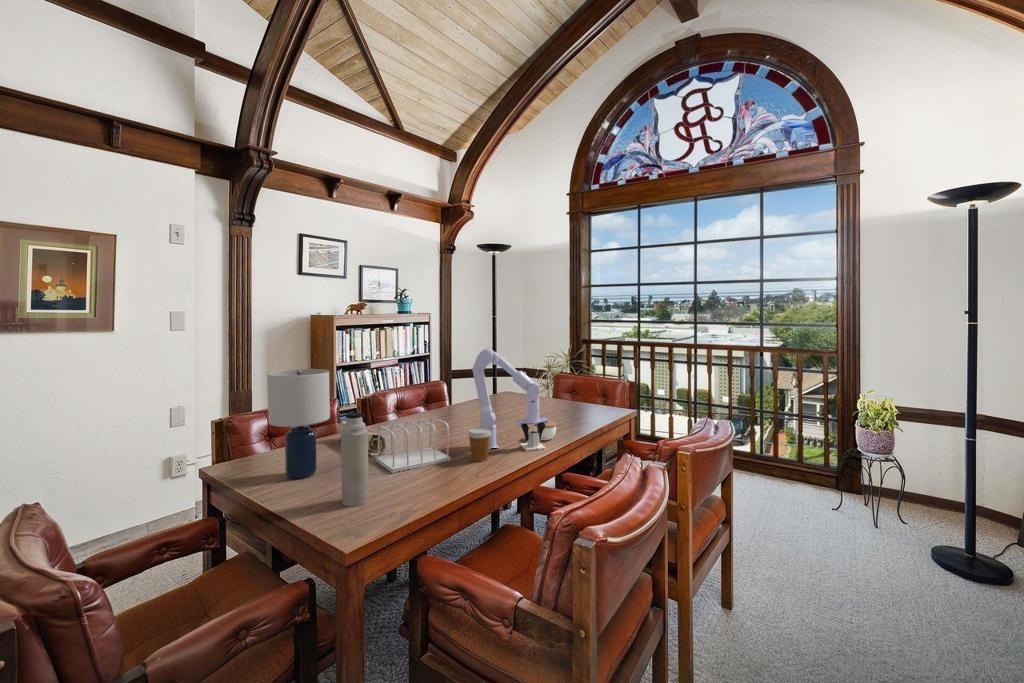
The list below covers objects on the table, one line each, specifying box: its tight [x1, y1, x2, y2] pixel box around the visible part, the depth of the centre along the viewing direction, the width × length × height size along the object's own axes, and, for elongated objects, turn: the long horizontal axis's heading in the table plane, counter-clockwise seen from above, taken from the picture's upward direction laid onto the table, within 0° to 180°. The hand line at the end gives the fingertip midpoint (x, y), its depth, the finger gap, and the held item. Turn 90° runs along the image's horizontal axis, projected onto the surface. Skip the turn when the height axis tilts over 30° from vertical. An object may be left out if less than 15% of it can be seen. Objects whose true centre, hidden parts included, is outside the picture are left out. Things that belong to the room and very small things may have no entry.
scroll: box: [334, 420, 387, 457], centre depth 201 cm, size 11×34×10 cm, turn 41°
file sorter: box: [375, 417, 452, 474], centre depth 181 cm, size 25×17×16 cm
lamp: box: [266, 368, 331, 480], centre depth 165 cm, size 20×20×39 cm
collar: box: [526, 430, 540, 447], centre depth 200 cm, size 5×5×6 cm
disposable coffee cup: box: [467, 427, 491, 462], centre depth 184 cm, size 10×10×12 cm
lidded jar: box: [533, 420, 557, 440], centre depth 215 cm, size 11×11×9 cm
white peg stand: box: [520, 441, 547, 450], centre depth 201 cm, size 9×9×4 cm
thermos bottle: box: [340, 412, 370, 507], centre depth 142 cm, size 8×8×28 cm
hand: (532, 440), depth 200 cm, fingers closed on collar, 5 cm apart
